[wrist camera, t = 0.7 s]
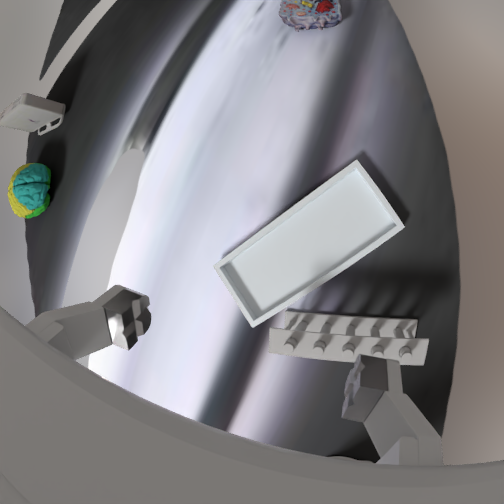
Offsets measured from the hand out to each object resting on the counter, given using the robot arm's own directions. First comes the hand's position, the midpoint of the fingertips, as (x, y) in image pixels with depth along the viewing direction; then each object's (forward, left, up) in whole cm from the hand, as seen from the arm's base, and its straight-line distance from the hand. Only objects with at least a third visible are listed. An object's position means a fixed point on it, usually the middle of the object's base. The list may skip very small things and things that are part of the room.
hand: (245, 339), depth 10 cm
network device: (+92, +50, -44) cm, 114 cm away
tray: (+4, +4, -44) cm, 44 cm away
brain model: (+69, +64, -44) cm, 104 cm away
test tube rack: (-13, +5, -44) cm, 46 cm away
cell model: (+46, -31, -44) cm, 71 cm away
